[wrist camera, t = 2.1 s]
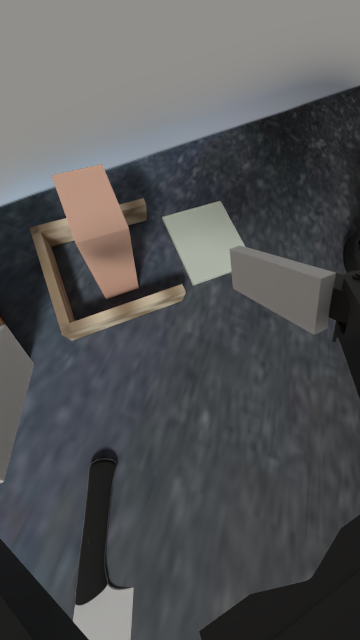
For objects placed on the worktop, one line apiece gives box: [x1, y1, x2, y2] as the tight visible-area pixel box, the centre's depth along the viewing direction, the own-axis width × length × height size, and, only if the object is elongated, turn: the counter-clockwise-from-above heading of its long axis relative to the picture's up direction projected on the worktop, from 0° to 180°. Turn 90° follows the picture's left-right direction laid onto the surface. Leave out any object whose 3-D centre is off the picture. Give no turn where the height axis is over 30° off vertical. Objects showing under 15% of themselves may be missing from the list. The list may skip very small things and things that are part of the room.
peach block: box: [52, 164, 138, 299], centre depth 29 cm, size 5×8×14 cm, turn 23°
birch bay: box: [30, 198, 185, 340], centre depth 34 cm, size 17×16×4 cm
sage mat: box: [162, 201, 245, 285], centre depth 39 cm, size 11×13×1 cm
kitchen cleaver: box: [73, 458, 133, 640], centre depth 24 cm, size 31×2×10 cm
